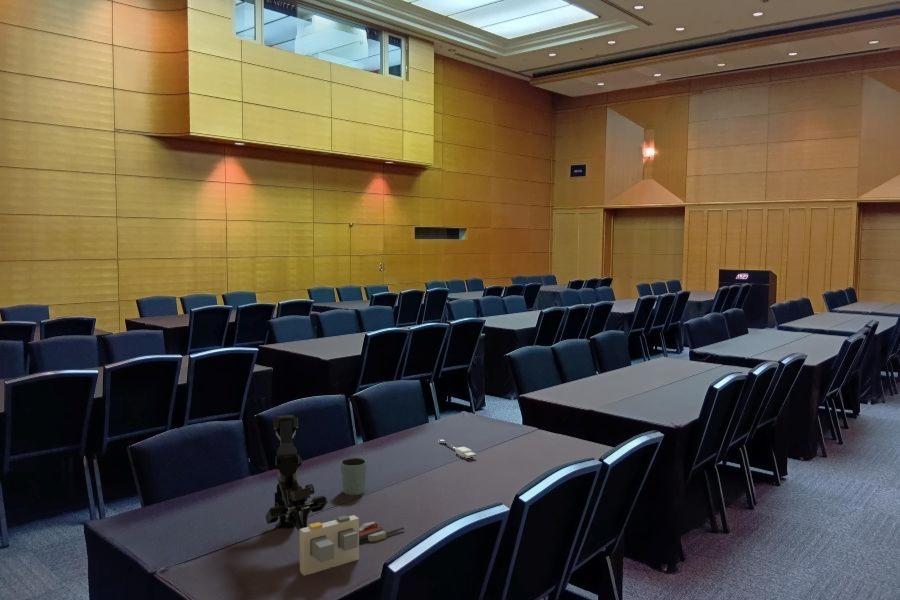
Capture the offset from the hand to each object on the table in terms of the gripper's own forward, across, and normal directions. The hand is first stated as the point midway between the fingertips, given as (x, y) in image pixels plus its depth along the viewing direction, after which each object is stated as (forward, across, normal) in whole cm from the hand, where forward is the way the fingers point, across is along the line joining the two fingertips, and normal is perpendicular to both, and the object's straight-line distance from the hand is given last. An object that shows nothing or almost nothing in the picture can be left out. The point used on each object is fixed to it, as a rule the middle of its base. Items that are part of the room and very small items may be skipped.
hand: (305, 534), depth 206 cm
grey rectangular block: (+9, 0, -7) cm, 11 cm away
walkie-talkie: (+4, +26, +8) cm, 27 cm away
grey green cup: (-24, +39, +36) cm, 58 cm away
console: (+11, +4, 0) cm, 12 cm away
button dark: (+7, +9, -5) cm, 13 cm away
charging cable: (-36, +103, +50) cm, 120 cm away
